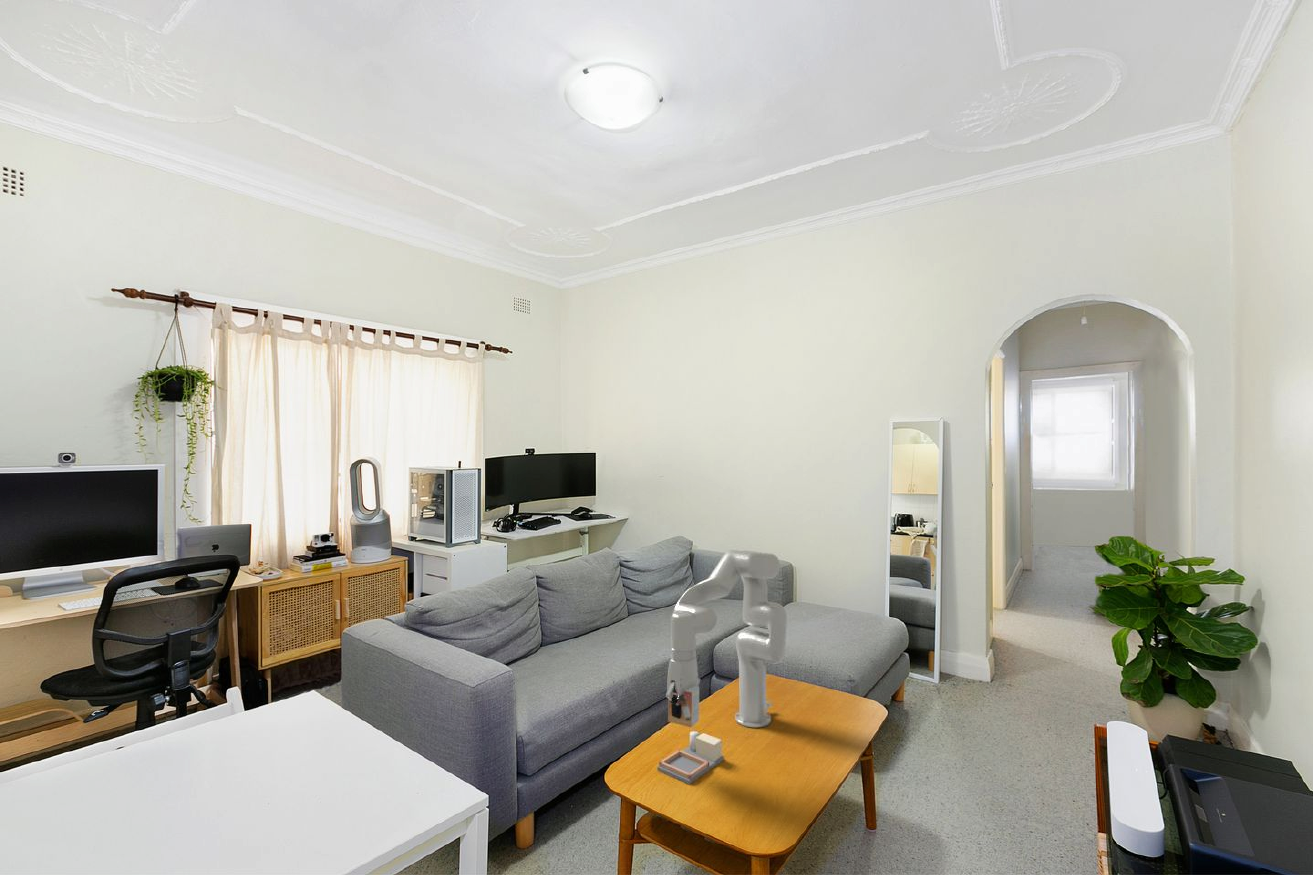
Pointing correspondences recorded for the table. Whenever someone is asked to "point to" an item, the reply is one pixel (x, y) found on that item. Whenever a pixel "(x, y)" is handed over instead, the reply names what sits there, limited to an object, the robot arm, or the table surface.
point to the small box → (686, 708)
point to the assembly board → (693, 758)
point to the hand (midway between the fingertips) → (683, 712)
